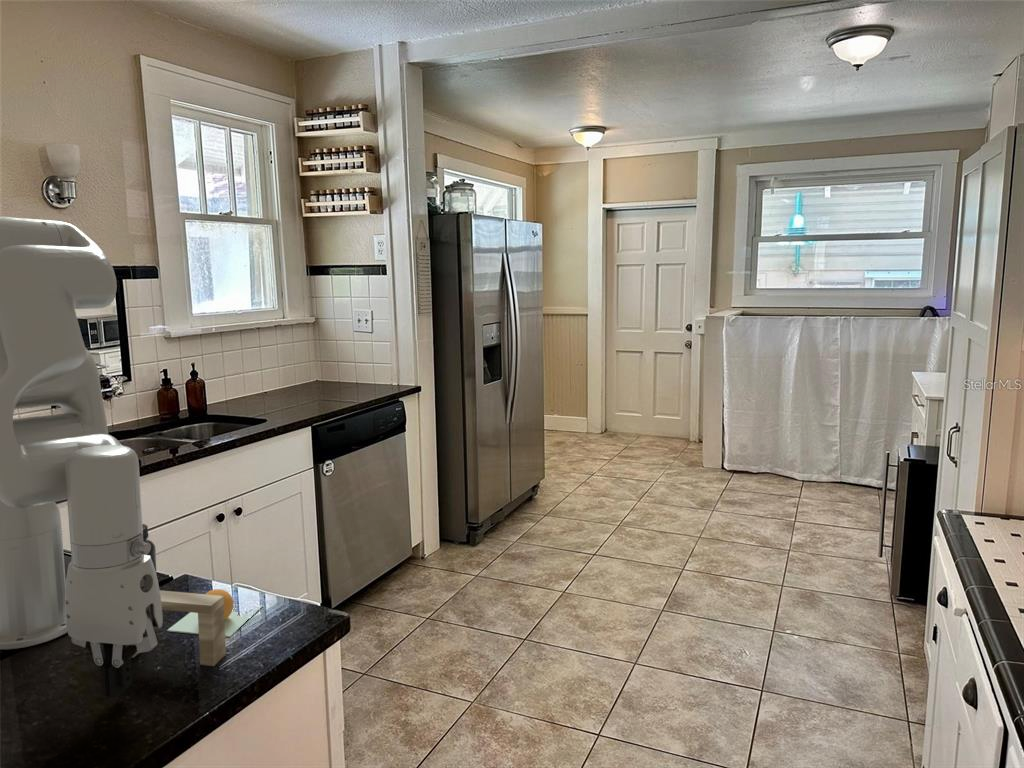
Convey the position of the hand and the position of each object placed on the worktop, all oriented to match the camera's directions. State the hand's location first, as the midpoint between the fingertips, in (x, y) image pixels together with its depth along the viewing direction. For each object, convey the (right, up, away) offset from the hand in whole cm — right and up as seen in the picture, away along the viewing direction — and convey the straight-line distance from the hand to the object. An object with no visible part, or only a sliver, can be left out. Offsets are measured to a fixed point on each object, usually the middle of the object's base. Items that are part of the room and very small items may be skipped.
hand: (117, 690), depth 86 cm
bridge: (+2, 0, +11) cm, 11 cm away
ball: (+3, +4, +20) cm, 21 cm away
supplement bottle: (-13, +3, +28) cm, 31 cm away
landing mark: (+3, +2, +22) cm, 22 cm away
